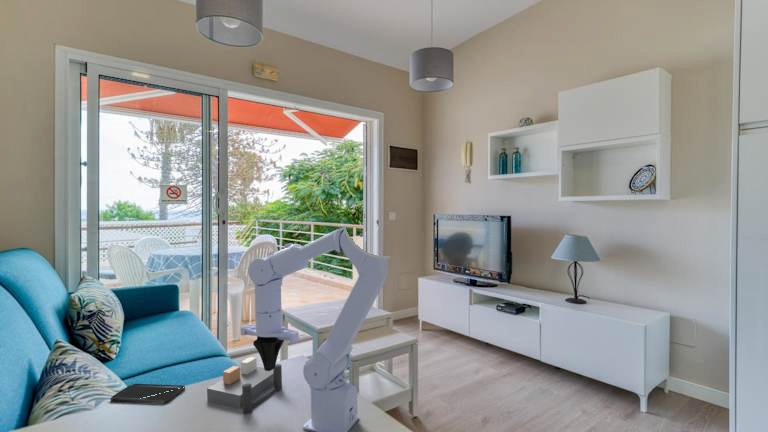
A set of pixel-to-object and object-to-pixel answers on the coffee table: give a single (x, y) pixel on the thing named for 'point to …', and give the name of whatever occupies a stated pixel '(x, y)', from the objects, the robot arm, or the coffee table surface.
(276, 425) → the coffee table surface
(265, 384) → the grey tray with posts
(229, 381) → the orange rectangular block
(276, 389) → the dark grey post rail
